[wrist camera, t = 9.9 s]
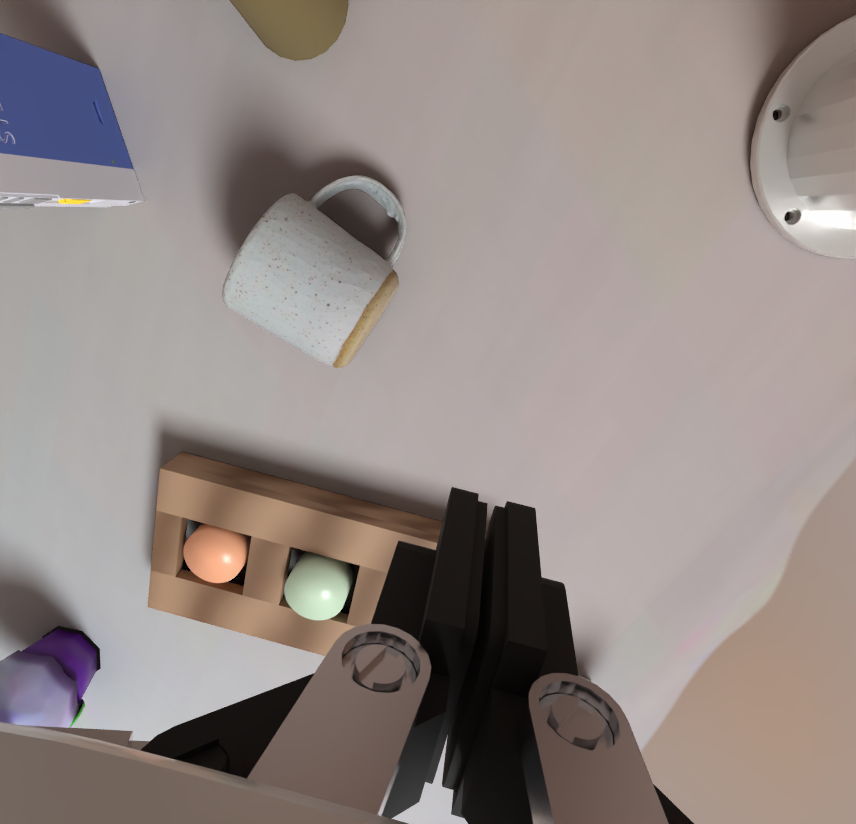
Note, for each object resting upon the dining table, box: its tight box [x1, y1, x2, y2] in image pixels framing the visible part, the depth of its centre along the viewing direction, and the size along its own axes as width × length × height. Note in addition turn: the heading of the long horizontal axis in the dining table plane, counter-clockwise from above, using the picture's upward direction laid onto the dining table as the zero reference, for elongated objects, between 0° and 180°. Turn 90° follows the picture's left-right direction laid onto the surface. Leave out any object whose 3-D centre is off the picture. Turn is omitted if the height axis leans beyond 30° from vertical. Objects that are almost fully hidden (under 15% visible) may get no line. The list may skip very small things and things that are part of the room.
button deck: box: [148, 452, 486, 656], centre depth 44 cm, size 25×12×3 cm, turn 77°
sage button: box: [284, 552, 353, 620], centre depth 43 cm, size 4×4×2 cm
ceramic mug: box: [222, 175, 407, 368], centre depth 34 cm, size 11×8×8 cm
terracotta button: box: [183, 523, 252, 583], centre depth 44 cm, size 4×4×2 cm
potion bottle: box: [0, 626, 100, 728], centre depth 46 cm, size 9×9×12 cm
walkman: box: [0, 33, 145, 209], centre depth 31 cm, size 8×3×12 cm, turn 12°
